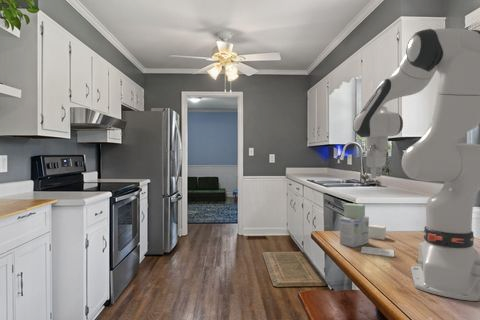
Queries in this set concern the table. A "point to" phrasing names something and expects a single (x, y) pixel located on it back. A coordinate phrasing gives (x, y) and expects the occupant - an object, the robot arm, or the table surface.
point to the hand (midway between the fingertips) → (376, 177)
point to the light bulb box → (354, 231)
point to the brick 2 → (377, 231)
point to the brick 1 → (354, 210)
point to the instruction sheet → (377, 251)
